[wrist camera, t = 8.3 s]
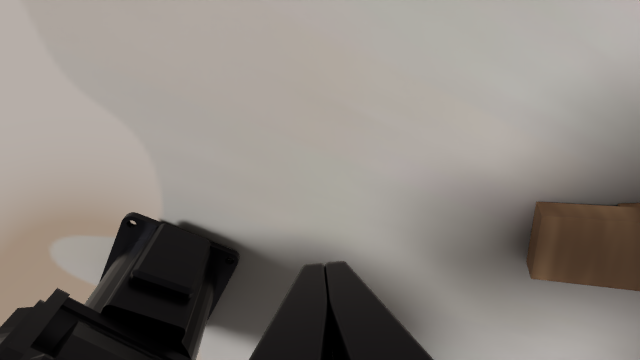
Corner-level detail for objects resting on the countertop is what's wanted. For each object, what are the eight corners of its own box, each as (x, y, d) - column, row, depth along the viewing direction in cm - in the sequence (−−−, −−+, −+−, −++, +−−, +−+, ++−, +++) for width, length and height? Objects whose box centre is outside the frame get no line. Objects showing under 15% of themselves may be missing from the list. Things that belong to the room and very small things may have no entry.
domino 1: (530, 278, 22) (757, 304, 19) (542, 215, 20) (793, 233, 17) (526, 261, 23) (736, 283, 20) (536, 201, 21) (768, 215, 18)
